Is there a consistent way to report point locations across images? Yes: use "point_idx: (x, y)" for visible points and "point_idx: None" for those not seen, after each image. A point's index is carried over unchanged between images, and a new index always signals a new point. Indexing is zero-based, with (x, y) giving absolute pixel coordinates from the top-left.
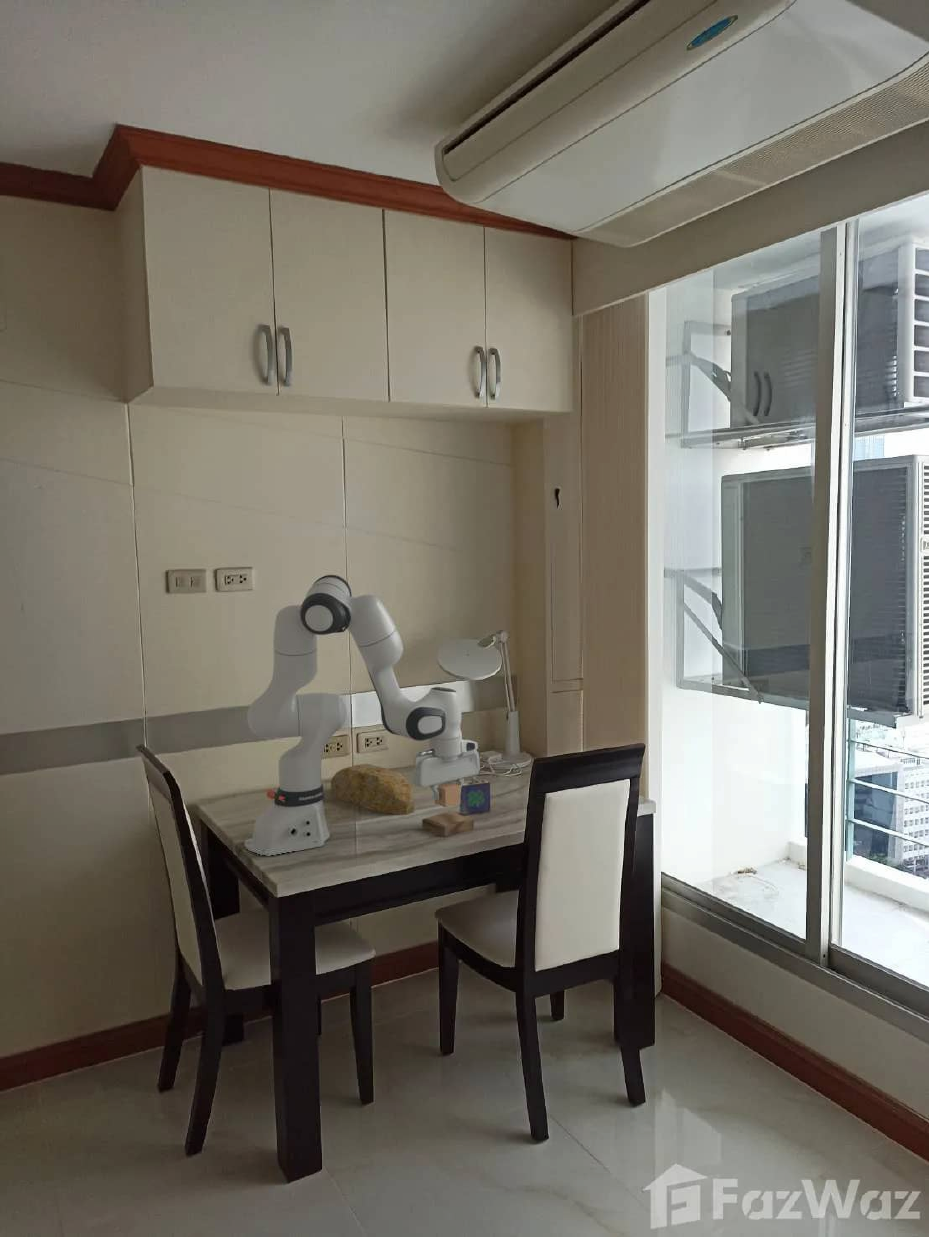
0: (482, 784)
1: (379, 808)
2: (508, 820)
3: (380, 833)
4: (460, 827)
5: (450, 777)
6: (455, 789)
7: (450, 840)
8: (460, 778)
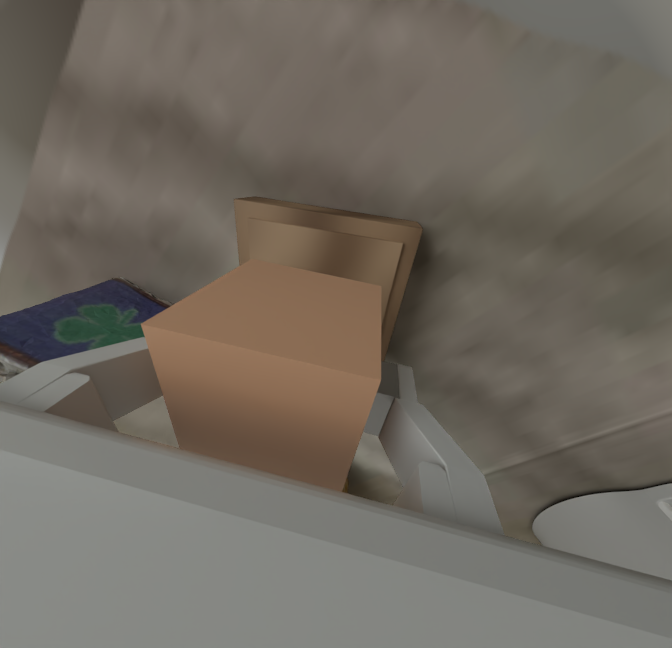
0: (4, 346)
1: (347, 491)
2: (81, 139)
3: (492, 419)
4: (323, 210)
5: (172, 527)
6: (232, 323)
7: (446, 160)
8: (32, 410)
